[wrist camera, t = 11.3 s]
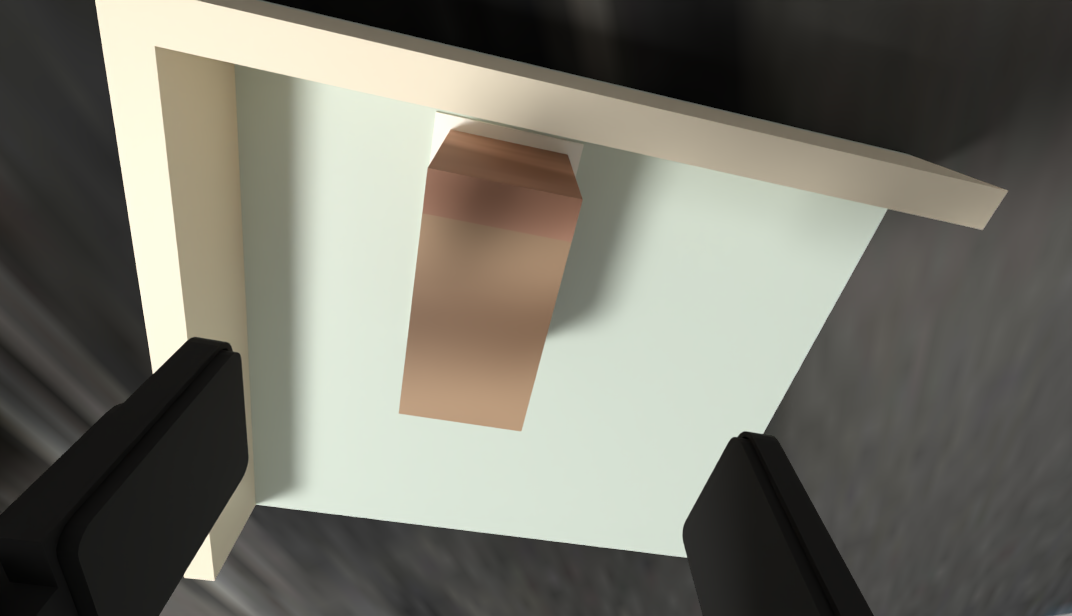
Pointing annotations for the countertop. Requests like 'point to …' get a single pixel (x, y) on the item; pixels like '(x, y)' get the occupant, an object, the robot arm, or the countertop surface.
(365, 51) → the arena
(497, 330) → the copper block
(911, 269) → the countertop surface
